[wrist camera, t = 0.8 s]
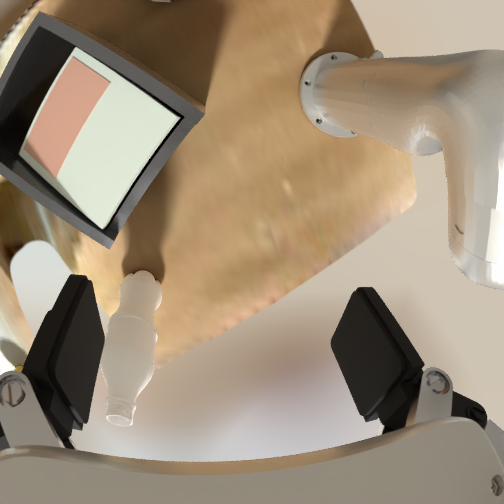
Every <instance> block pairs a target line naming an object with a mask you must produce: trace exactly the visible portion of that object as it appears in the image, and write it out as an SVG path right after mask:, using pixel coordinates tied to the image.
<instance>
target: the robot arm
mask: <svg viewBox="0 0 504 504" xmlns="http://www.w3.org/2000/svg"><path fill="white" fill-rule="evenodd" d="M331 56H332V57H333V59H331ZM305 81H306V82H307V85H305ZM299 98H300V103H301V106H302V108H303V111H304V113H305V115H306V116H307V118H308V119H309V120H310V122H311V123H312V124H313V125H314V126H315V127H317V128H318V129H319V130H321V131H323V132H325V133H327V134H329V135H332V136H335V137H341V138H344V137H353V136H357V135H359V134H360V135H363V136H366V137H368V138H371V139H373V140H376V141H378V142H381V143H383V144H386V145H388V146H390V147H393V148H395V149H398V150H400V151H402V152H405V153H408V154H411V155H416V156H426V155H432V154H435V153H438V152H440V151H442V150H443V154H444V160H445V170H446V177H447V183H448V213H449V214H448V215H449V216H448V234H449V247H450V251H451V255H452V258H453V260H454V262H455V264H456V266H457V267H458V269H459V270H460V271H461V272H462V273H463V274H464V275H465V276H466V277H467V278H469V279H470V280H472V281H473V282H475V283H477V284H480V285H482V286H485V287H488V288H493V289H499V290H504V51H503V50H477V51H469V52H462V53H455V54H447V55H438V56H425V57H424V56H423V57H398V58H383V54H382V53H381V52H380V51H378V50H376V51H375V52H374V53H373V54H372V55H371V56H370V57H369V58H359V57H357V56H355V55H353V54H350V53H345V52H331V53H327V54H324V55H321V56H319V57H317V58H316V59H314V60H313V61H312V62H311V63H310V64H309V65H308V66H307V68H306V69H305V71H304V72H303V75H302V77H301V80H300V85H299ZM316 119H318V122H316ZM104 343H105V336H104V332H103V328H102V324H101V320H100V316H99V311H98V307H97V303H96V298H95V293H94V288H93V283H92V281H91V280H88V278H87V276H85V275H74V274H71V275H70V276H69V278H68V279H67V281H66V283H65V285H64V286H63V289H62V290H61V292H60V294H59V296H58V298H57V300H56V302H55V304H54V306H53V308H52V310H50V311H48V312H47V314H46V316H45V318H44V320H43V322H42V324H41V326H40V329H39V330H38V333H37V335H36V337H35V339H34V342H33V344H32V346H31V349H30V351H29V354H28V356H27V358H26V361H25V363H24V366H23V369H22V371H21V372H18V371H8V372H5V373H3V374H2V375H0V504H504V431H503V430H502V429H501V428H499V427H498V426H497V425H496V424H495V423H493V422H492V421H491V420H490V419H489V420H488V421H487V414H486V411H485V409H484V408H483V407H482V406H481V405H480V404H479V403H477V402H475V401H473V400H471V399H469V398H467V397H465V396H463V395H461V394H458V393H456V392H454V391H453V385H452V381H451V379H450V378H449V376H448V375H447V374H446V373H445V372H444V371H442V370H440V369H438V368H435V367H430V368H427V369H426V370H425V371H424V372H423V370H422V367H423V366H424V365H425V364H424V362H423V361H422V359H421V358H420V356H419V354H418V353H417V351H416V350H415V348H414V347H413V345H412V344H411V342H410V340H409V339H408V337H407V336H406V334H405V333H404V331H403V330H402V328H401V327H400V325H399V324H398V322H397V321H396V319H395V318H394V316H393V315H392V313H391V312H390V311H389V309H388V308H387V306H386V305H385V303H384V302H383V300H382V299H381V298H380V296H379V295H378V293H377V292H376V291H375V289H374V288H372V287H359V288H357V289H356V291H354V292H353V293H352V295H351V298H350V300H349V302H348V304H347V306H346V309H345V311H344V313H343V316H342V318H341V320H340V322H339V324H338V326H337V328H336V331H335V333H334V335H333V337H332V339H331V348H332V350H333V353H334V355H335V357H336V360H337V362H338V364H339V367H340V369H341V371H342V373H343V376H344V378H345V380H346V383H347V385H348V388H349V390H350V392H351V395H352V397H353V400H354V402H355V404H356V407H357V409H358V412H359V414H360V415H362V416H364V419H365V421H366V422H369V421H372V420H376V419H378V418H379V419H380V421H381V423H380V426H379V429H378V432H377V435H376V437H372V438H369V439H365V440H362V441H358V442H354V443H350V444H346V445H342V446H338V447H333V448H328V449H323V450H319V451H314V452H308V453H302V454H296V455H290V456H282V457H274V458H266V459H256V460H243V461H226V462H174V461H157V460H145V459H135V458H125V457H117V456H110V455H103V454H97V453H91V452H85V451H79V450H77V448H76V446H75V445H74V443H73V442H72V440H71V438H70V436H71V433H72V429H77V430H81V431H82V428H83V423H85V424H86V423H87V422H88V419H89V413H90V407H91V402H92V397H93V392H94V387H95V382H96V377H97V373H98V368H99V364H100V360H101V356H102V352H103V348H104Z"/></svg>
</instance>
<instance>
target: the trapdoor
mask: <svg viewBox="0 0 504 504" xmlns="http://www.w3.org/2000/svg"><path fill="white" fill-rule="evenodd" d="M179 119H180V117H179V116H177V115H176V114H175V113H173V112H172V111H171V110H169V109H168V108H167V107H165V106H164V105H163V104H161V103H160V102H158V101H157V100H156V99H154V98H153V97H152V96H150V95H149V94H147V93H146V92H145V91H143V90H142V89H140V88H139V87H138V86H136V85H135V84H133V83H132V82H130V81H129V80H128V79H126V78H125V77H123V76H122V75H120V74H119V73H117V72H116V71H115V70H113V69H112V68H110V67H109V66H107V65H106V64H104V63H103V62H101V61H100V60H98V59H96V58H95V57H93V56H92V55H90V54H89V53H87V52H86V51H84V50H82V49H81V48H78V47H75V49H74V50H73V52H72V53H71V55H70V56H69V58H68V59H67V61H66V62H65V64H64V66H63V67H62V69H61V70H60V72H59V74H58V75H57V77H56V79H55V80H54V82H53V84H52V85H51V87H50V89H49V91H48V93H47V94H46V96H45V98H44V100H43V102H42V104H41V106H40V108H39V110H38V112H37V114H36V116H35V118H34V120H33V122H32V124H31V127H30V129H29V131H28V133H27V136H26V138H25V140H24V143H23V145H22V147H21V150H20V152H19V155H20V156H21V157H22V158H23V159H24V160H25V161H26V162H27V163H28V164H29V165H30V166H31V167H32V168H34V169H35V170H36V171H37V172H38V173H39V174H40V175H41V176H42V177H43V178H44V179H45V180H46V181H47V182H48V183H50V184H51V185H52V186H53V187H54V188H55V189H56V190H57V191H58V192H59V193H61V194H62V195H63V196H64V197H65V198H66V199H67V200H68V201H70V202H71V203H72V204H73V205H74V206H75V207H76V208H78V209H79V210H80V211H81V212H82V213H83V214H85V215H86V216H87V217H88V218H89V219H91V220H92V221H93V222H94V223H95V224H96V225H98V226H99V227H100V228H101V229H103V228H105V227H106V226H107V224H108V223H109V221H110V219H111V218H112V216H113V214H114V213H115V211H116V209H117V208H118V206H119V204H120V203H121V201H122V199H123V198H124V196H125V195H126V193H127V192H128V190H129V188H130V187H131V185H132V184H133V182H134V181H135V179H136V178H137V176H138V175H139V173H140V172H141V170H142V169H143V167H144V166H145V164H146V163H147V162H148V160H149V159H150V157H151V156H152V154H153V153H154V152H155V150H156V149H157V148H158V146H159V145H160V143H161V142H162V141H163V139H164V138H165V137H166V135H167V134H168V133H169V131H170V130H171V129H172V128H173V126H174V125H175V124H176V122H177V121H178V120H179Z"/></svg>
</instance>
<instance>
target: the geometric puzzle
mask: <svg viewBox="0 0 504 504" xmlns="http://www.w3.org/2000/svg"><path fill="white" fill-rule="evenodd" d="M151 1H153V2H170V3H171V2H172V1H173V0H172V1H171V0H151Z"/></svg>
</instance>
